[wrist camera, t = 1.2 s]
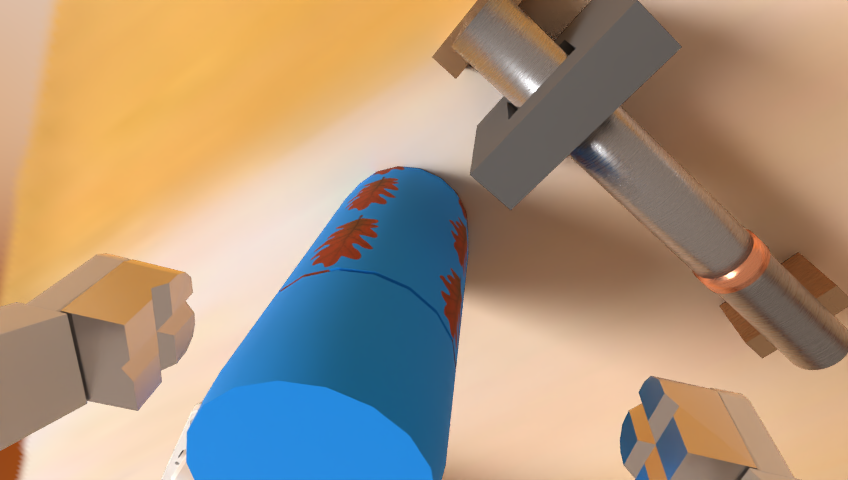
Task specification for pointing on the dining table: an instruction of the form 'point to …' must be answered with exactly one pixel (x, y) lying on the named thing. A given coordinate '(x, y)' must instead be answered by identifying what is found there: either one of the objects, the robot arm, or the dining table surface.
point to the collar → (570, 97)
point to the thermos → (350, 349)
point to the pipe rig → (665, 199)
